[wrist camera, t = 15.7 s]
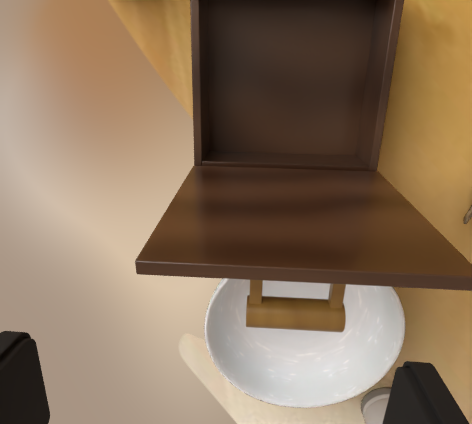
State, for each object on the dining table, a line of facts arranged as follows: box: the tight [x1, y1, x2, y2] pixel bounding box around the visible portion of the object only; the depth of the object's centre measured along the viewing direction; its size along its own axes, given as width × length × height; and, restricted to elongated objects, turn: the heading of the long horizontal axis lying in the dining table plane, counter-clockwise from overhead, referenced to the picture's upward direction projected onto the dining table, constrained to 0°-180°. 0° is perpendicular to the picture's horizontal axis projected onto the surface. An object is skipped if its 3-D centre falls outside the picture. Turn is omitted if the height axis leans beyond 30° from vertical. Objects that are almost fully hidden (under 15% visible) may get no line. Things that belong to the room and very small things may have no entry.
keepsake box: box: [190, 0, 404, 171], centre depth 32 cm, size 15×16×6 cm
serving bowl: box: [204, 278, 405, 408], centre depth 40 cm, size 21×21×7 cm
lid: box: [135, 166, 472, 332], centre depth 25 cm, size 16×16×5 cm
